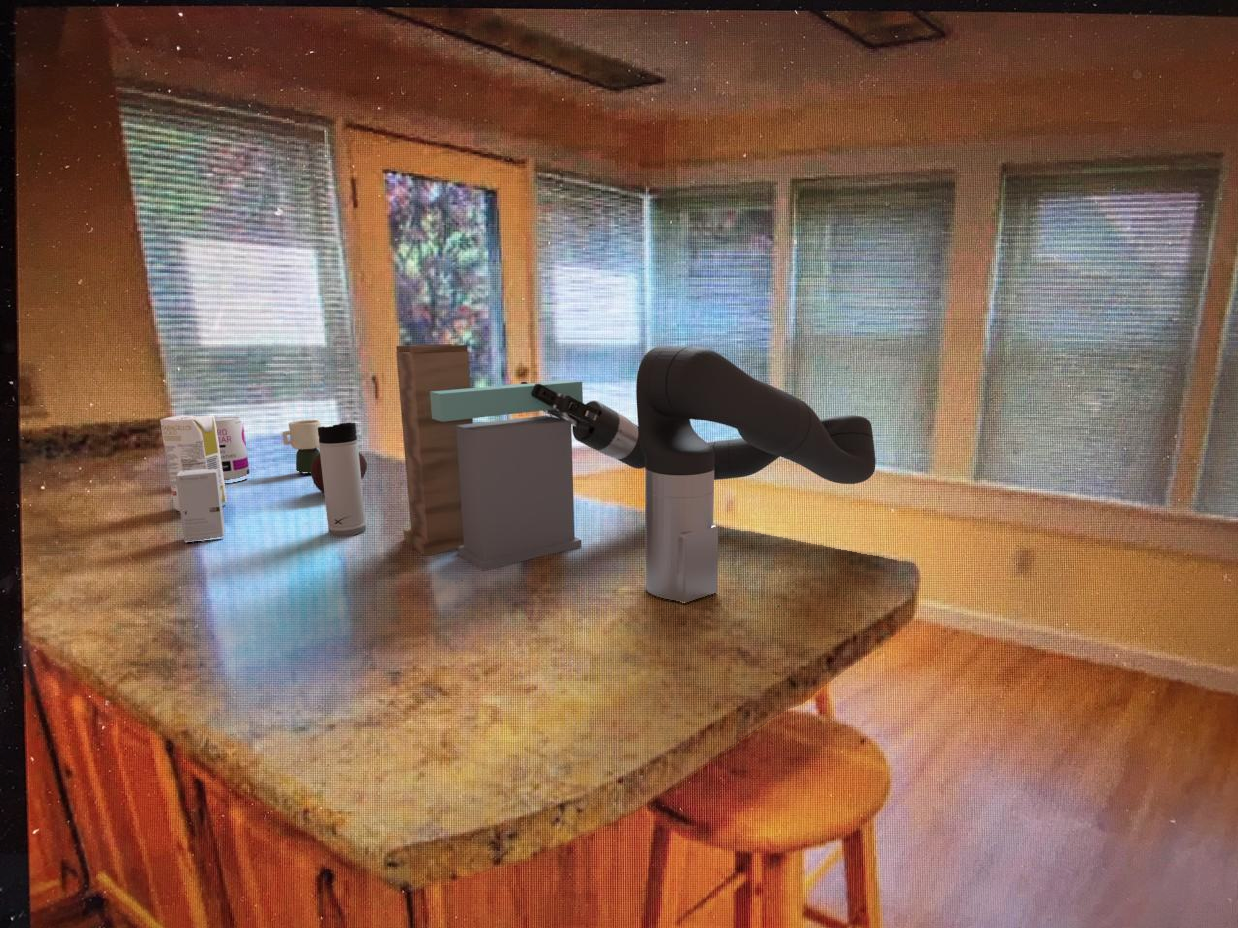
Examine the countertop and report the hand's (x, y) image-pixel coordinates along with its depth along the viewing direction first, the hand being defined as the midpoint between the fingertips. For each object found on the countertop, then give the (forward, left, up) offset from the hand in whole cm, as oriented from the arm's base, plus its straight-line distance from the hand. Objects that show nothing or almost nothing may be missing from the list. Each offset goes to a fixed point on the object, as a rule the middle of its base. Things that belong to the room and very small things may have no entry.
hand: (527, 388), depth 106 cm
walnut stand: (+12, +11, -26) cm, 31 cm away
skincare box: (+40, +44, -27) cm, 65 cm away
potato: (+58, +17, -27) cm, 66 cm away
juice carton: (+63, +43, -26) cm, 81 cm away
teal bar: (0, +3, -3) cm, 5 cm away
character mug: (+84, +18, -26) cm, 90 cm away
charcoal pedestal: (0, +3, -26) cm, 26 cm away
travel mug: (+28, +23, -26) cm, 45 cm away
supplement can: (+88, +35, -27) cm, 98 cm away
